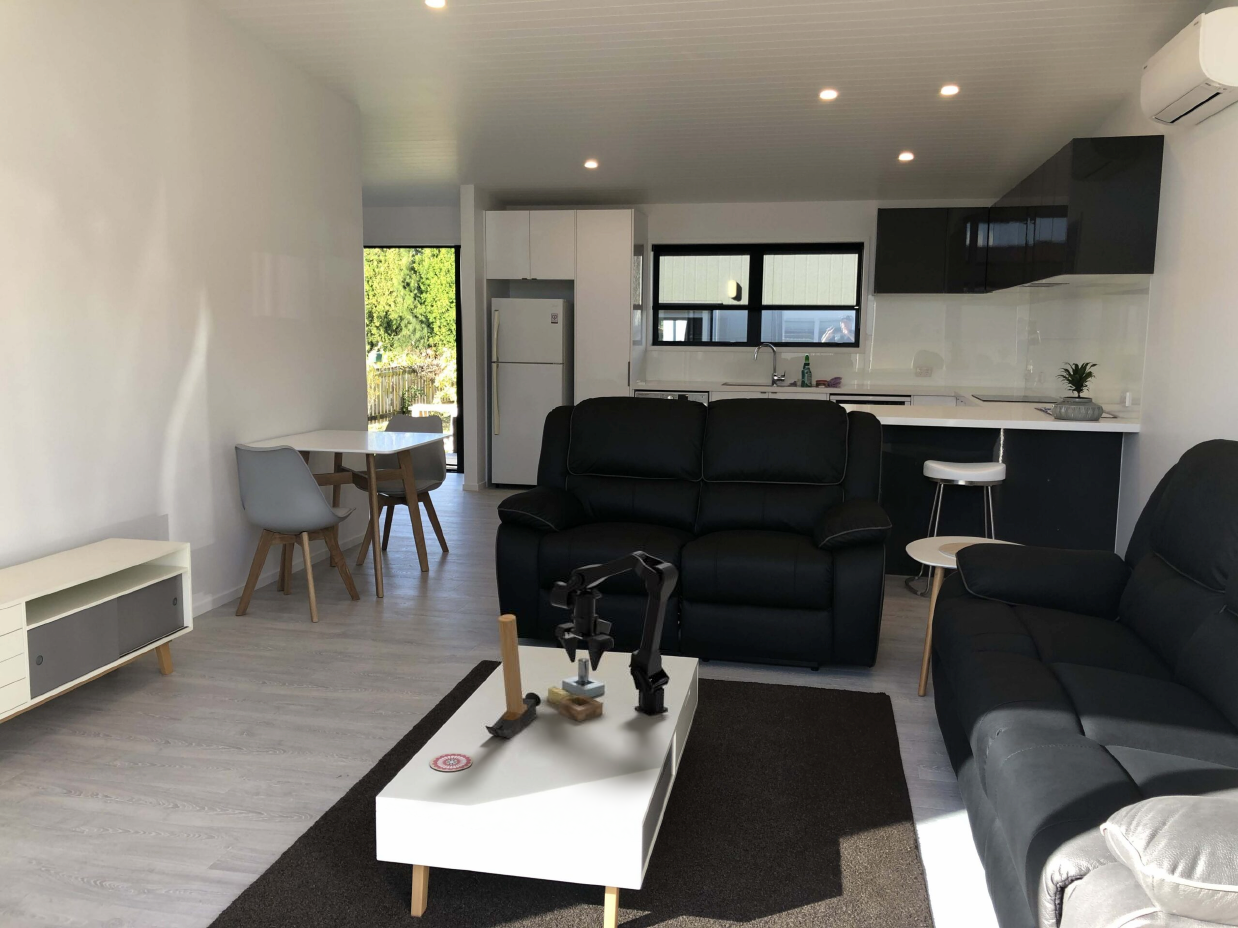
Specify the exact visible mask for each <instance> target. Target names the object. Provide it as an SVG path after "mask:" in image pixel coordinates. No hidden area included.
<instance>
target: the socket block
mask: <svg viewBox="0 0 1238 928" xmlns="http://www.w3.org/2000/svg"><path fill="white" fill-rule="evenodd" d="M558 713H560V714H562V715H564V716H566V717H568V718H569V719H572V720H575V721H576V722H578V723H580V722H582V721H585V720H588V719H592V718H595V717H597V716H600V715H603V702H601V701H600V700H597V699H595V698H593V697H588V696H585V695H583V694H582V695H579V696H578V705H577V704H574V703H572V701H570V700H568V699H565V700H562V701H559V705H558Z"/></svg>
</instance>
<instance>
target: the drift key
mask: <svg viewBox="0 0 1238 928" xmlns="http://www.w3.org/2000/svg"><path fill="white" fill-rule="evenodd" d="M565 699H568V700H570V701H572V703H574V704H577V705H578V696H577V695H575V694H573V693H571V692H568V691H566V690H564V689H562V688H559V687H557V686H552V687H550V686H549V687H548V689H547V701H548V702H550V703H552V704H555V705H556V706H559V701H562V700H565Z"/></svg>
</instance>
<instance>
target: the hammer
mask: <svg viewBox="0 0 1238 928" xmlns="http://www.w3.org/2000/svg"><path fill="white" fill-rule="evenodd" d="M497 618H498V630H499V639H500V640H499V641H500V648H501V663H502V670H503V671H502V672H503V683H504V690H505V691H504V692H505V693H504V694H505V695H504V696H505V705H506V711H504V713H503V714H502V715H501V716H500V717H499V718H498V719H497V720H496V722H495V723H494V724H493V725H492V726H488V725H485V729H486V730H487V732H488V734H489V735H491V736H497V737H502V738H507V739H511V738H513V737H515V735H517V734H518V733H519V732H520V731H522V730H523V729H524V728H526V727H527V726H528V725H529V724H530V723H531V722H532V720H533V719H534V718H535V717H536V716H537V707H539V706H541V704H542V699H541V697H540V696H539V695H538V694H537V693H535V692H528V693H526V694H525V697H523V690H522V688H523V687H522V678H521V666H520V654H519V653H520V651H519V641H518V630H517V628H518V627H517V618H516V615H514V614H511V613H510V614H503V615H501V616H499V617H497Z"/></svg>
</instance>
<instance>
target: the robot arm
mask: <svg viewBox="0 0 1238 928" xmlns="http://www.w3.org/2000/svg"><path fill="white" fill-rule="evenodd" d="M631 569H632V570H634V571H635V572H636V573H637V575H638V577H639V578H640V579H643V581H645V588H646V591H647V594H648V602H647V607H646V608H647V609H646V614H645V620H644V624H643V625H644V626H643V632H642V635H641V636H642V638H641V643H640V648H639V649H637V650H635V651H633V652H631V653H630V654H631V655H630V663H629V665H628V668H630V669H629V670H630V671H629V673H630V676H631V677H632V680H633V683H634V687H635V690H637V691H638V702H637V703H638V704H637V705H636V706H634V709H635V710H637V711H639V712H642V713H644V714H646V715H649V716H654V715H658V714H660V713H663V712H666V711H668V710H669V708H668V707H666V706H665V688H664V686H667V685H668V684H669V681H670V676H669V675H668V673H667V672H666V671H665V669H664V668H663V666H662V663H663V662H662V661H663V660H662V659H663V658H662V655H661V652H660V643H661V638H662V637H661V636H662V631H663V627H664V626H663V625H664V621H665V614H666V609H667V603H668V598H669V597H670V596H671V593H672V592H673V590H674V589H675V586H676V584H677V580H678V577H679V571H678V569H677V568H676V567H675V566H674V565H673V564H672V563H669V562H666V561H664V560H662V559H660V558H657V557H655V556H653V555H649V554H647V552H646V551H645V552H644V551H642V550H638V551H635V552H630V553H629V554H627V555H625V556H622V557H619V558H617V559H613V560H611V561H609V562H605V563H602V564H591V565H587V566H583V567H580V568H575V569H574V570H573V571H572V572H571V575H570V576H571V577H570V578H569V580H568V581H567V582H566V583H565V582H562V581H557V582H554V586H553V588H552V589H551V591H550V594H549V602H550V604H551V605H552V606H554V607H560V608H564V609H568V610H571V609H573V608H574V609H573V610H574V611H573V614H571V615H570V619H571V620H573V623H572V622H567V623H563V624H558V625H557V626H556V628H555V636H556V637H557V638H558V640H559V641H560V643H561V644H562V647H563V649H564V650H565V652H566V654H567V657H568V659H569V661H570V663H575V662H576V659H577V658H576V655H577V643H578V642H579V639H580V640H583V641H585V642H587V643H588V647H589V648H587V652H588V657H589V658H588V659H589V664H590V668H591V671H592V672H595V671H597V670H598V666H599V664H600V661H601V659H602V657H603V654H604V653H605V652H606V651H608V650H610V649H612V648H614V645H615V644H614V639H613V637H611V636H609V633H610V630H611V627H612V623H611V622H609V621H605V620H603V619H600V618H599V615H598V614H596V599H599V598H602V597H603V594H602V593H601V592H600V591H599V590H598V589H597V588H596V587H595V588H592V587H594V586H596V585H598V584H599V583H601V582H603V581H604V580H605V579H607V578H608V577H611V576H614V575H617V574H620V573H622V572H627V571H629V570H631ZM588 588H592V589H588ZM600 633H603V634H600ZM604 633H605V634H604Z"/></svg>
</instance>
